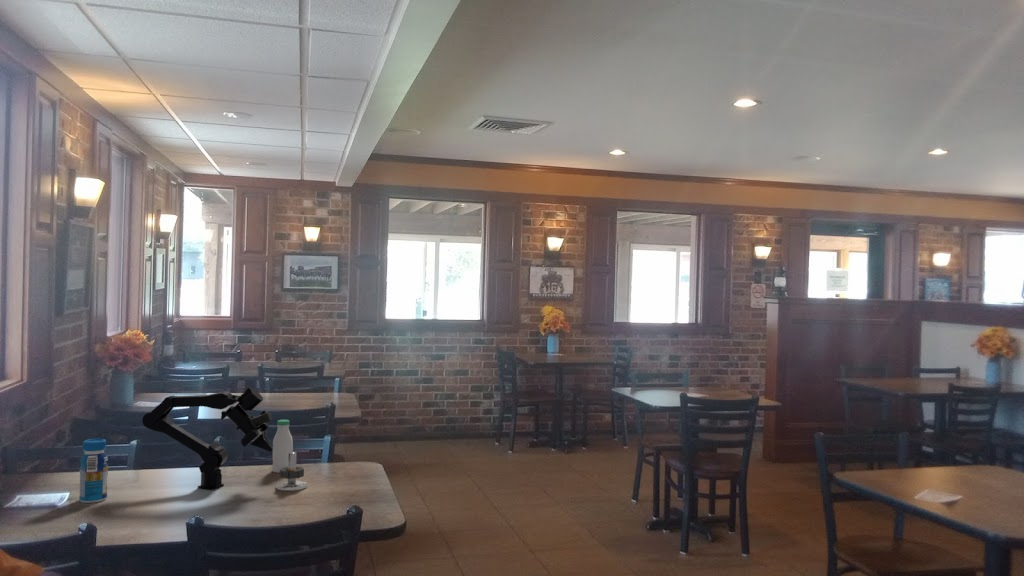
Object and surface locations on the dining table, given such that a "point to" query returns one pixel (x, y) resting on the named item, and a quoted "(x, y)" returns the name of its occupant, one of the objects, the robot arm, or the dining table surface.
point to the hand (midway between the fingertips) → (271, 450)
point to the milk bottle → (281, 446)
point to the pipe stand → (291, 483)
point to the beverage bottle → (93, 471)
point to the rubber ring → (291, 473)
